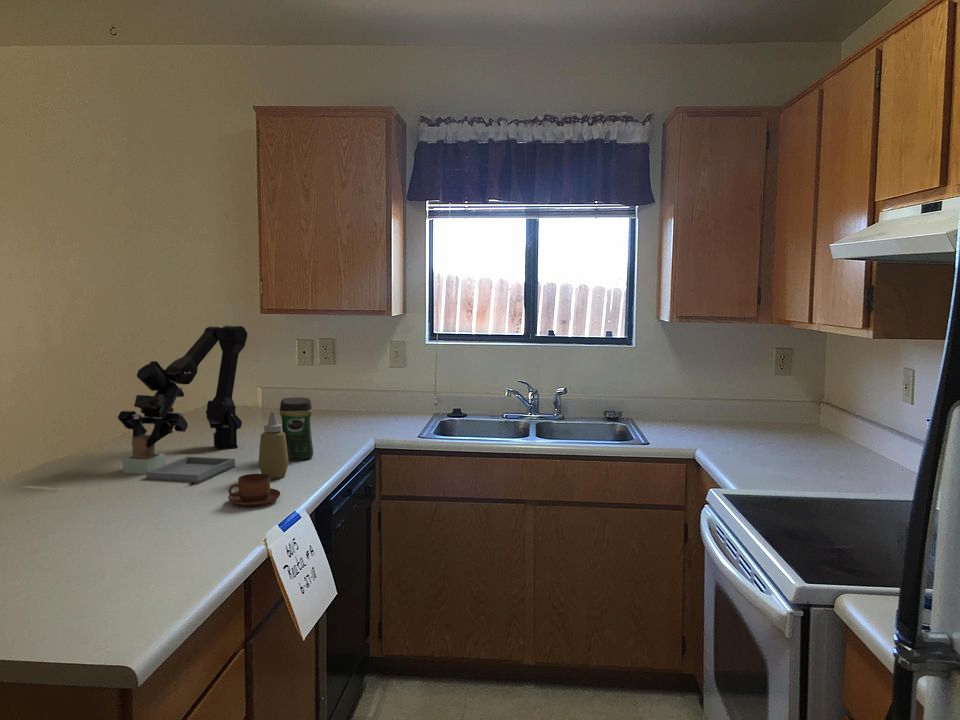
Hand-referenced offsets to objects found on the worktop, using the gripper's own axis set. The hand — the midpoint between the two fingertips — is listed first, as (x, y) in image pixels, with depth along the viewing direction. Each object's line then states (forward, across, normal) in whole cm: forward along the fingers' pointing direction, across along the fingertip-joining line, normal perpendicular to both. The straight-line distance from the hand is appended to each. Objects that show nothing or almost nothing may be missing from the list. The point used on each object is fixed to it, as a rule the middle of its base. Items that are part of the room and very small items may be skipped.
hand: (140, 446), depth 198 cm
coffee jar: (-13, +34, +24) cm, 44 cm away
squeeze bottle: (+3, +37, +8) cm, 38 cm away
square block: (+4, 0, +6) cm, 7 cm away
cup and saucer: (+19, +43, -7) cm, 48 cm away
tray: (+4, +14, +7) cm, 16 cm away
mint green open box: (+4, 0, +6) cm, 8 cm away
